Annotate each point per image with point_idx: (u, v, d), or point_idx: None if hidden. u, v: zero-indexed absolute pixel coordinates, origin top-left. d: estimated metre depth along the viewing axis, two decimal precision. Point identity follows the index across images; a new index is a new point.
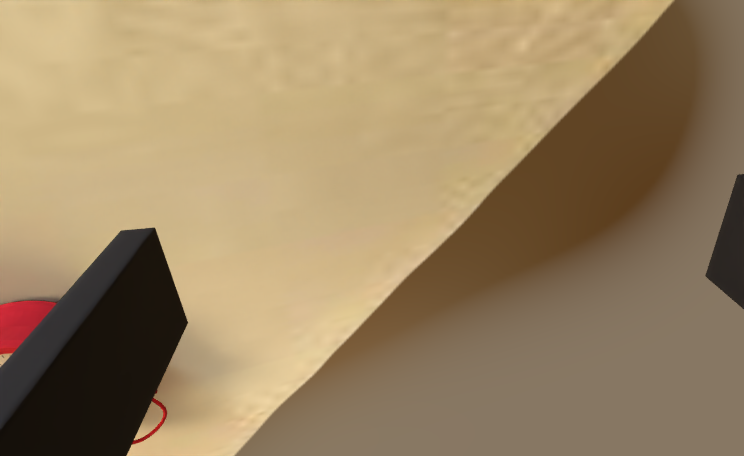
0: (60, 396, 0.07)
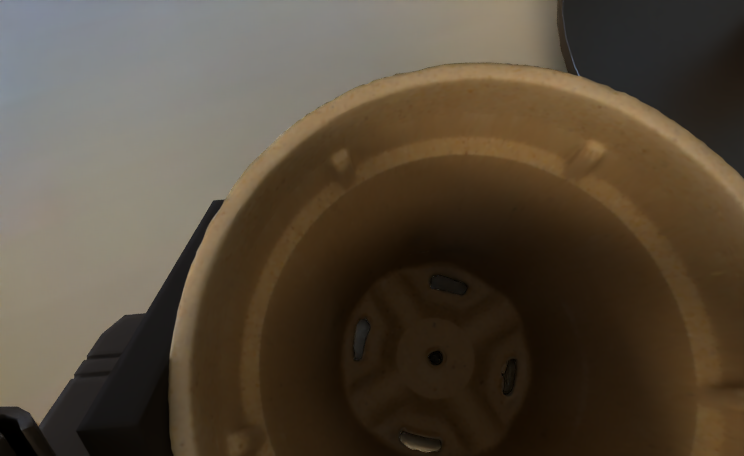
0: None
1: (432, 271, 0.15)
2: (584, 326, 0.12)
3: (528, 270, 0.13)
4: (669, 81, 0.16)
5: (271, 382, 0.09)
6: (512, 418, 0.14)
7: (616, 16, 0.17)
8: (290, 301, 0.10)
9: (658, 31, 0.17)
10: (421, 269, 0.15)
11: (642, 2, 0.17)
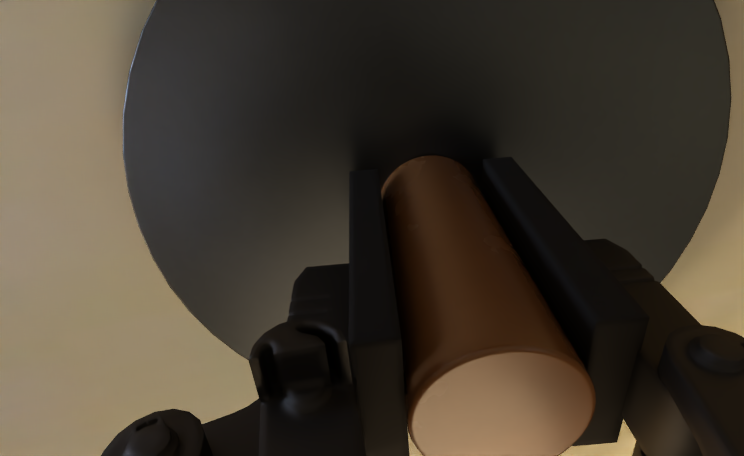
0: None
1: None
2: None
3: None
4: (247, 256, 0.14)
5: None
6: None
7: (195, 169, 0.13)
8: None
9: (246, 196, 0.13)
10: None
11: (233, 152, 0.13)
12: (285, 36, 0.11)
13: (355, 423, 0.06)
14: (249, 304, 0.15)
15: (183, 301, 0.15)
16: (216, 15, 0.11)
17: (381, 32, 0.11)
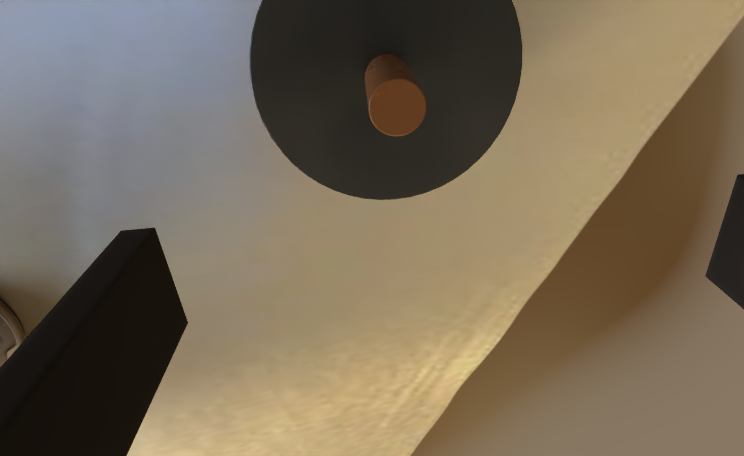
0: (60, 396, 0.07)
1: None
2: None
3: None
4: (301, 106, 0.30)
5: None
6: None
7: (281, 60, 0.28)
8: None
9: (303, 74, 0.29)
10: None
11: (298, 52, 0.28)
12: None
13: None
14: (301, 134, 0.31)
15: (269, 132, 0.30)
16: None
17: None
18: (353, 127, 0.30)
